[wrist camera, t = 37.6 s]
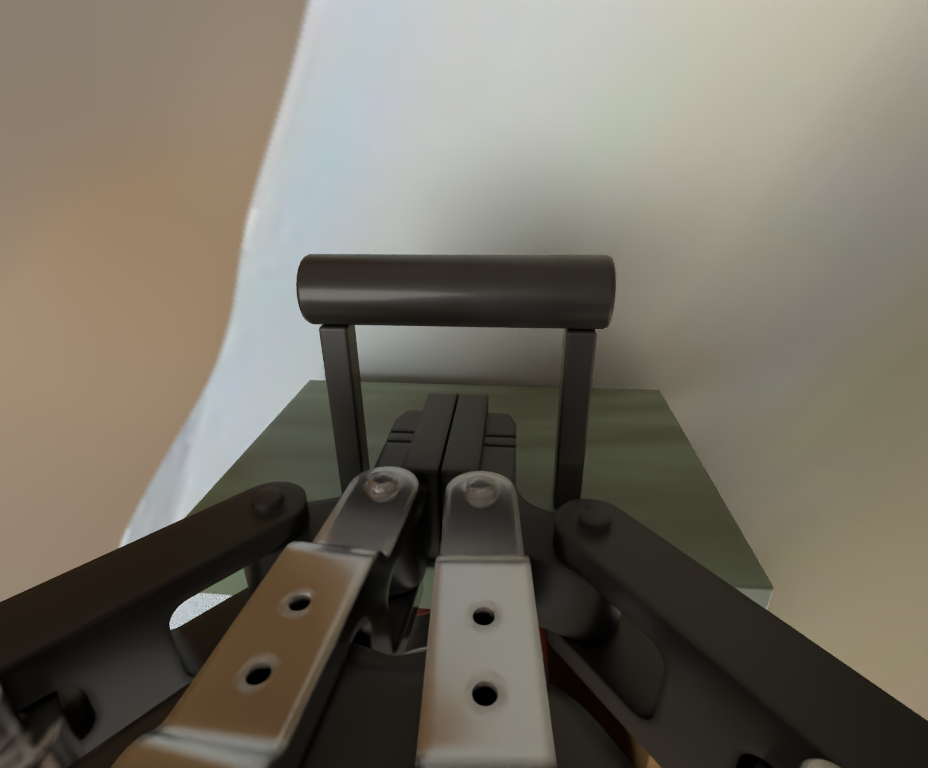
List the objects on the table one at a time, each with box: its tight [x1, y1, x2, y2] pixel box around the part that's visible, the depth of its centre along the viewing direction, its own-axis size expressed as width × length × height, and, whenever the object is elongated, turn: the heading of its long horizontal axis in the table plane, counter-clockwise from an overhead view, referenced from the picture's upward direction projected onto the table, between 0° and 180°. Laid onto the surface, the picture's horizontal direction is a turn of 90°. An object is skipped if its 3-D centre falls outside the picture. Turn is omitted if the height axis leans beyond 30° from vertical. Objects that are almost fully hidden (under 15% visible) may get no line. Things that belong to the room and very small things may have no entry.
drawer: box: [185, 254, 773, 768], centre depth 16 cm, size 20×12×9 cm, turn 1°
